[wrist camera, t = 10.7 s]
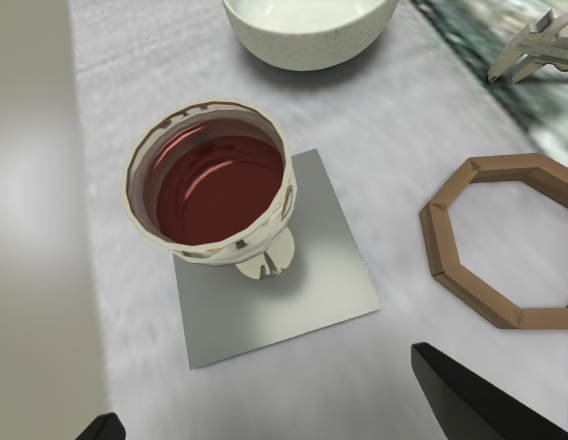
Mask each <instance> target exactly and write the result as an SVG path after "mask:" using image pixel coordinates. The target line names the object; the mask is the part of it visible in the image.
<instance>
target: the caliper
mask: <svg viewBox="0 0 568 440" xmlns="http://www.w3.org/2000/svg"><path fill="white" fill-rule="evenodd" d="M567 24H568V13H565V14H563V15H561V16H559V17H557V18H556V19H554V16H553V12H552V9H551V10H550V11H549V12H548V13H547V14H546V15H545V16H544V17H543V18H542V19H541V20H540V21H539V22H538V23H537V24H534V23H528V24H527V25H526V26H525V27H524V28H523V29H522V30H521V31H520V32H519V33H518V34H517V35H516V36H515V37H514V38H513V39H512V40H511V41H510V42H509V43H508V44H507V45H506V46H505V47H504V49H503V50H502V52H501V53H500V55H499V56H498V57H497V59H496V60H495V62H494V63H493V65H492V66H491V68H490V69H489V71H488V80H489V82H490V83H493V82H494V81H495V80H496V79H497V78H498V77H499V76H500V75H501V74H502V73H503V72H504V71H506V70H507V69H508V68H509V67H510V66H511V65H512V64H513V63H515V62H516V61H517V60H518V59H519V58H520V57H521V56H522V55H523V54H527V55H528V56H527V57H526V58H524V59H523V60H522V61H521V62H520V63H519V64H518V65H517V66H516V67H514V68H513V69H512V70H511V72H510V73H509V74H508V75H507V76H506V82H507V84H514V83H516V82H518V81H519V80H521V79H523V78H524V77H526V76H528V75H529V74H531V73H533V72H534V71H536V70H538V69H539V68H541V67H543V66H544V65H546V64H553V65H554V67H556V68H557V69H558V70H560V71H561V72H568V29H566V28H564V27H565V26H566V25H567Z"/></svg>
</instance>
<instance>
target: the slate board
mask: <svg viewBox="0 0 568 440" xmlns="http://www.w3.org/2000/svg"><path fill="white" fill-rule="evenodd" d="M291 160H292V164H293V166H294V170H295V176H296V182H297V193H296V199H295V204H294V210H293V215H292V218H291V219H290V221H289V223H288V225H287V228H288V229H289V230H290V232H291V234H292V236H293V239H294V245H295V249H294V255H293V258H292V260H291V262H290V264H289V266H288V267H287V268H286V269H285V270H284V271H283V272H282V273H281V274H279V275H277V276H275V277H273V278H270V279H263V280H260V279H254V278H250V277H249V276H247V275H245V274H243V273H242V272H241V271H240V270H239V269H238V267H237V266H236V264H233V265H227V266H221V267H214V266H208V265H201V264H195V263H192V262H188V261H186V260H185V259H183V258H181V257H179V256H177V255H176V254H174V253H173V258H174V265H175V272H176V278H177V285H178V292H179V299H180V306H181V312H182V319H183V326H184V333H185V340H186V346H187V353H188V360H189V367H190V370H192V369H195V368H198V367H201V366H204V365H208V364H211V363H214V362H217V361H220V360H223V359H226V358H229V357H232V356H236V355H239V354H242V353H245V352H248V351H251V350H254V349H257V348H260V347H264V346H267V345H270V344H273V343H276V342H279V341H282V340H285V339H288V338H292V337H295V336H298V335H301V334H304V333H307V332H310V331H313V330H316V329H320V328H323V327H326V326H329V325H332V324H335V323H338V322H341V321H344V320H348V319H351V318H354V317H357V316H360V315H363V314H366V313H369V312H372V311H376V310H379V309H382V305H381V303H380V301H379V298H378V296H377V293H376V291H375V289H374V286H373V284H372V281H371V279H370V277H369V274H368V272H367V269H366V267H365V264H364V262H363V260H362V257H361V255H360V252H359V250H358V248H357V245H356V243H355V240H354V238H353V236H352V233H351V231H350V228H349V226H348V224H347V221H346V219H345V216H344V214H343V211H342V209H341V207H340V204H339V202H338V199H337V197H336V195H335V192H334V190H333V187H332V185H331V183H330V180H329V178H328V175H327V173H326V170H325V168H324V166H323V163H322V161H321V158H320V156H319V154H318V151H317V149H313V150H310V151H307V152H304V153H300V154H297V155H294V156H291Z"/></svg>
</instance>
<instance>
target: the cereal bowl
mask: <svg viewBox="0 0 568 440" xmlns="http://www.w3.org/2000/svg"><path fill="white" fill-rule="evenodd" d="M222 1H223V5H224V8H225V10H226V14H227V16H228V19H229V21H230V24H231V25H232V28H233V30H234V32H235V33H236V35H237V37H238V38H239V39H240V41H241V43H242V44H243V45H244V46H245V47H246V48H247V49H248V50H249V51H250V52H251V53H252V54H254V55H255V56H256V57H257V58H259V59H261V60H262V61H265V62H267V63H268V64H269V65H273V66H275V67H279V68H282V69H288V70H295V71H297V70H298V71H311V70H317V69H319V70H320V69H324V68H327V67H331V66H334V65H337V64H339V63H342V62H344V61H347V60H348V59H350V58H353V57H355V56H356V55H357V54H359V53H360V52H361V51H363V50H364V49H366V48H367V47H368V46H369V45H370V44H371V43H372V42H373V41H374V40H375V39H376V38H377V37H378V36H379V35H380V33H381V32H382V31H383V30H384V28H385V26H386V25H387V24H388V22H389V20H390V18H391V17H392V14H393V12H394V10H395V8H396V6H397V2H398V0H222Z"/></svg>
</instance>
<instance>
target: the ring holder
mask: <svg viewBox="0 0 568 440" xmlns="http://www.w3.org/2000/svg"><path fill="white" fill-rule="evenodd" d="M511 180H521V181H523V182H524V183H526V184H528V185H529V186H531V187H533V188H535V189H536V190H538V191H540V192H541V193H543V194H545V195H546V196H548V197H550V198H551V199H553V200H555V201H557V202H558V203H560V204H562V205H563V206H565V207H567V208H568V168H567V167H565V166H564V165H562V164H560V163H558V162H556V161H554V160H553V159H551V158H549V157H547V156H545V155H543V154H539V153H529V154H515V155H500V156H485V157H471V158H468V159H467V160H466V161H465V162H464V163H463V164H462V165H461V166H460V167H459V168H458V170H457V171H456V172H455V173H454V174H453V175H452V176H451V177H450V179H449V180H448V181H447V182H446V183H445V184H444V185H443V187H442V188H441V189H440V190H439V191H438V192H437V193H436V195H435V196H434V197H433V198H432V199H431V200H430V201H429V203H428V204H427V205H426V206H425V207H424V208H423V209H422V211H421V212H420V219H421V224H422V229H423V234H424V239H425V244H426V249H427V254H428V259H429V264H430V269H431V274H432V276H434V277H433V278H434V279H436V280H437V281H438V282H439V283H441V284H442V285H443V286H445V287H446V288H447V289H448V290H450V291H451V292H452V293H453V294H455V295H456V296H457V297H459V298H460V299H461V300H462V301H464V302H465V303H466V304H467V305H469V306H470V307H471V308H473V309H474V310H475V311H476V312H478V313H479V314H480V315H482V316H483V317H484V318H485V319H487V320H488V321H489V322H490V323H492V324H493V325H494V326H496V327H497V328H499V329H568V306H567V308H526V309H520V308H519V307H518V306H516V305H515V304H514V303H512V302H511V301H510V300H508V299H507V298H505V297H504V296H503V295H501V294H500V293H499V292H497V291H496V290H495V289H493V288H492V287H491V286H489V285H488V284H487V283H485V282H484V281H483V280H481V279H480V278H478V277H477V276H476V275H474V274H473V273H472V272H470V271H469V270H468V269H466V268H465V267H464V266H462V265H461V264H460V260H459V256H458V252H457V247H456V243H455V239H454V235H453V231H452V227H451V222H450V218H449V214H448V210H447V208H448V207H449V205H450V204H451V203H452V202H453V201H454V200H455V198H456V197H457V196H458V195H459V194H460V193H461V191H462V190H463V189H464V188H465V187H466V186H467V184H468V183H477V182H494V181H511Z"/></svg>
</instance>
